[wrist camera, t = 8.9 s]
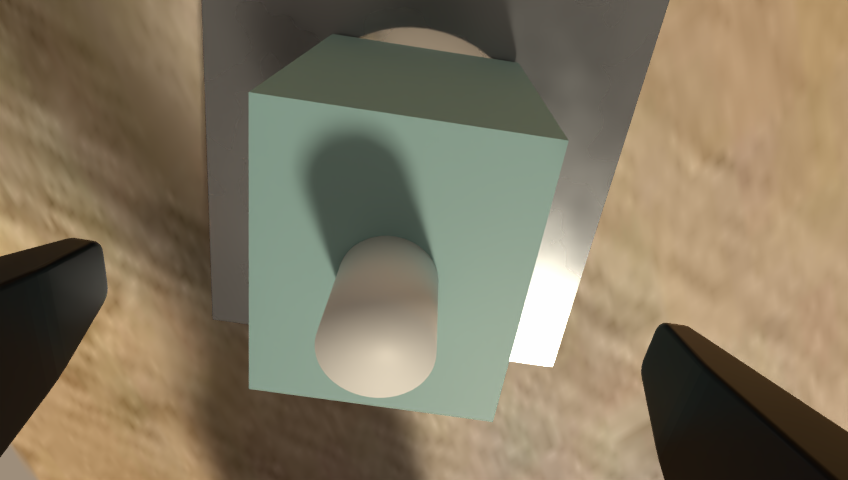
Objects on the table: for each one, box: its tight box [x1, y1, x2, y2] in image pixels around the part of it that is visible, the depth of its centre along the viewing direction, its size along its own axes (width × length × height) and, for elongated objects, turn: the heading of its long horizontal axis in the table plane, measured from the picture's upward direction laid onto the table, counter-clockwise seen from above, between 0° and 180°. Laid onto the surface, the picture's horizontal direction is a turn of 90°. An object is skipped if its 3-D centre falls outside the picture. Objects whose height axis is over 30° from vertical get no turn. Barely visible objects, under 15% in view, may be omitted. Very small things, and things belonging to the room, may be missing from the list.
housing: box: [249, 34, 569, 422], centre depth 12 cm, size 6×5×9 cm
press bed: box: [202, 0, 669, 367], centre depth 17 cm, size 14×12×2 cm
